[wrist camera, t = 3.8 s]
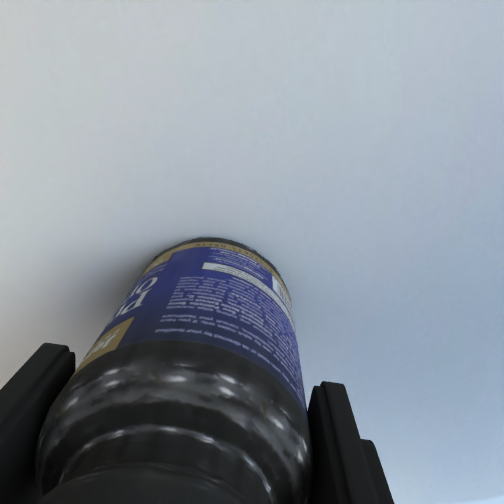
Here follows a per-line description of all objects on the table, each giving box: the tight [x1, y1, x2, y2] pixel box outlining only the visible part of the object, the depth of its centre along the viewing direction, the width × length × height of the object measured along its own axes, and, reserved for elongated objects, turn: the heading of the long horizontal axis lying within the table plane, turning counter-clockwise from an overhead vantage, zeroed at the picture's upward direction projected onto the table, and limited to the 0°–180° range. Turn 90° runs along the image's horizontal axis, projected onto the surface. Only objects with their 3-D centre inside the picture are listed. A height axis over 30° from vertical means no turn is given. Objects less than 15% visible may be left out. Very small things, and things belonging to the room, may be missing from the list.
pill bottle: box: [35, 238, 315, 504], centre depth 11 cm, size 6×6×11 cm
